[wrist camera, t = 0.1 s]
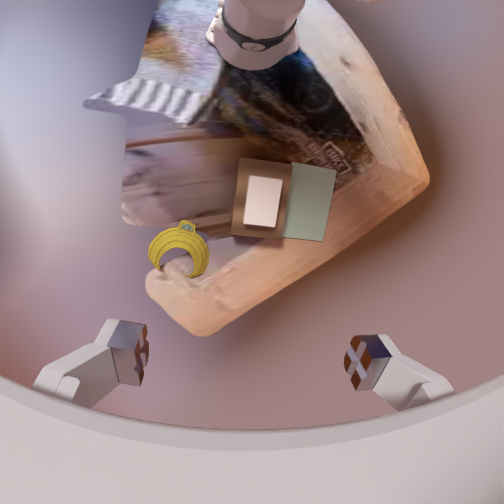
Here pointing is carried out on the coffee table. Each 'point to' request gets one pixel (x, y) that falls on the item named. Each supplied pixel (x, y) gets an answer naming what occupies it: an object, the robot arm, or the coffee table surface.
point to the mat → (308, 202)
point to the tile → (262, 200)
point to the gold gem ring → (181, 246)
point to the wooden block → (244, 170)
